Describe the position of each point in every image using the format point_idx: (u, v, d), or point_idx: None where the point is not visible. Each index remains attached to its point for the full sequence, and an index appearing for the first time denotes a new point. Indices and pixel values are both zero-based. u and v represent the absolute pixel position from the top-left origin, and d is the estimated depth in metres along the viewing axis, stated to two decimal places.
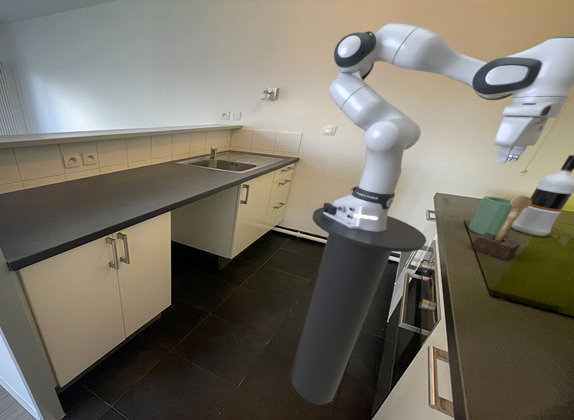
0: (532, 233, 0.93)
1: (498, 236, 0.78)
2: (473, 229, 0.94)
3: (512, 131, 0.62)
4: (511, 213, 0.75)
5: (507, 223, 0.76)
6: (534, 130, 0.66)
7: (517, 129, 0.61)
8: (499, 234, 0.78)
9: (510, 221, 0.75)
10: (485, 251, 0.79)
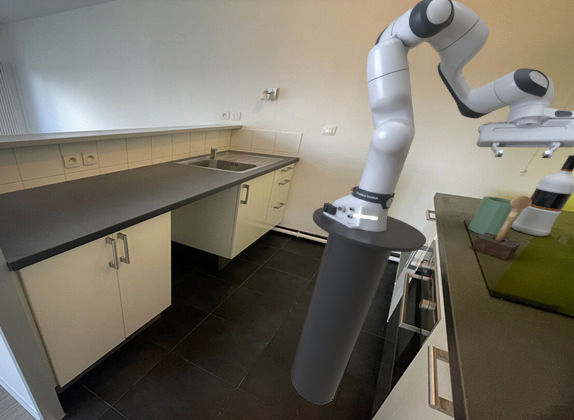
0: (532, 233, 0.93)
1: (498, 236, 0.78)
2: (473, 229, 0.94)
3: None
4: (511, 213, 0.75)
5: (507, 223, 0.76)
6: None
7: None
8: (499, 234, 0.78)
9: (510, 221, 0.75)
10: (485, 251, 0.79)
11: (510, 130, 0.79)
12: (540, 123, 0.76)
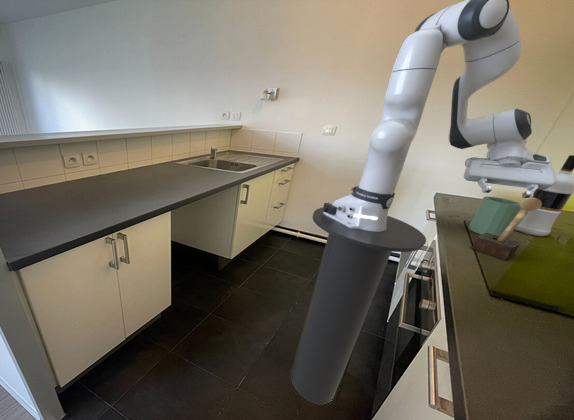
0: (532, 233, 0.93)
1: (501, 237, 0.78)
2: (473, 229, 0.94)
3: None
4: (518, 214, 0.74)
5: (512, 224, 0.75)
6: None
7: None
8: (502, 235, 0.77)
9: (516, 222, 0.75)
10: (485, 251, 0.79)
11: (495, 167, 0.83)
12: (520, 164, 0.81)
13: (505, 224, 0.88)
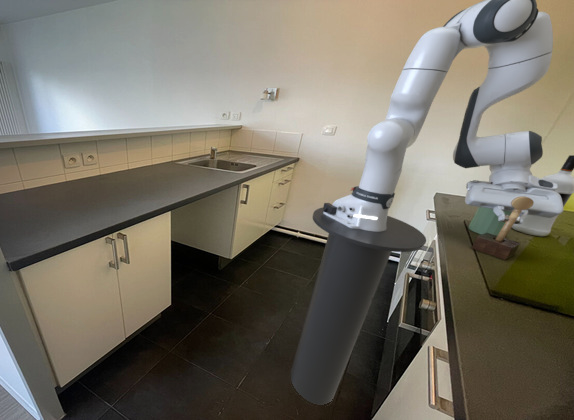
0: (532, 233, 0.93)
1: (498, 237, 0.78)
2: (473, 229, 0.94)
3: None
4: (512, 214, 0.74)
5: (508, 224, 0.75)
6: None
7: None
8: (499, 234, 0.77)
9: (511, 222, 0.75)
10: (485, 251, 0.79)
11: (498, 192, 0.78)
12: (525, 190, 0.76)
13: None
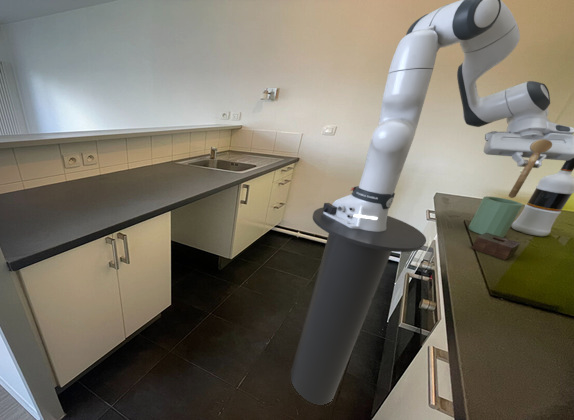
0: (532, 233, 0.93)
1: (517, 182, 0.81)
2: (473, 229, 0.94)
3: None
4: (531, 158, 0.78)
5: (527, 168, 0.79)
6: None
7: None
8: (518, 179, 0.81)
9: (530, 165, 0.78)
10: (485, 251, 0.79)
11: (517, 140, 0.82)
12: (543, 135, 0.79)
13: (505, 224, 0.88)
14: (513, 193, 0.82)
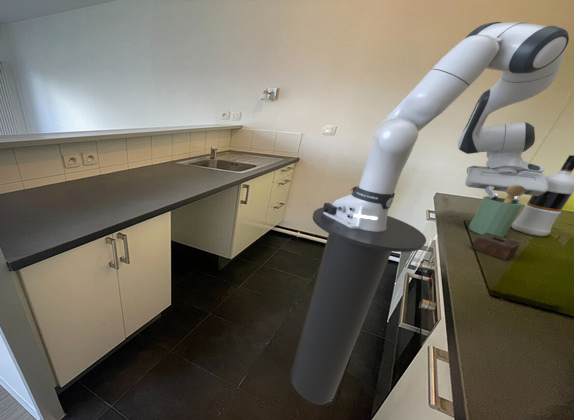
0: (532, 233, 0.93)
1: None
2: (473, 229, 0.94)
3: None
4: (506, 200, 0.87)
5: None
6: None
7: None
8: None
9: None
10: (485, 251, 0.79)
11: (494, 175, 0.92)
12: (516, 173, 0.89)
13: (505, 224, 0.88)
14: None
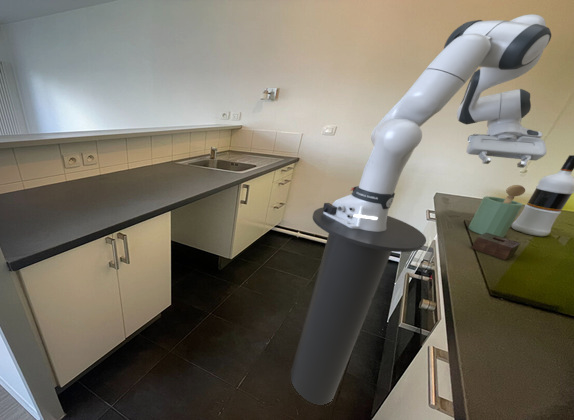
0: (532, 233, 0.93)
1: None
2: (473, 229, 0.94)
3: None
4: (506, 200, 0.87)
5: None
6: None
7: None
8: None
9: None
10: (485, 251, 0.79)
11: (494, 142, 0.95)
12: (516, 138, 0.92)
13: (505, 224, 0.88)
14: None
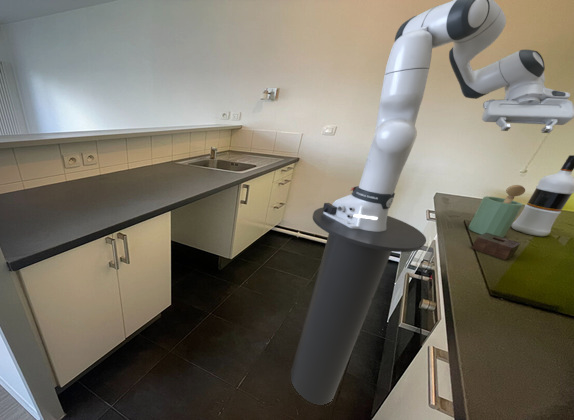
0: (532, 233, 0.93)
1: None
2: (473, 229, 0.94)
3: None
4: (506, 200, 0.87)
5: None
6: None
7: None
8: None
9: None
10: (485, 251, 0.79)
11: (514, 106, 0.84)
12: (539, 101, 0.82)
13: (505, 224, 0.88)
14: None
